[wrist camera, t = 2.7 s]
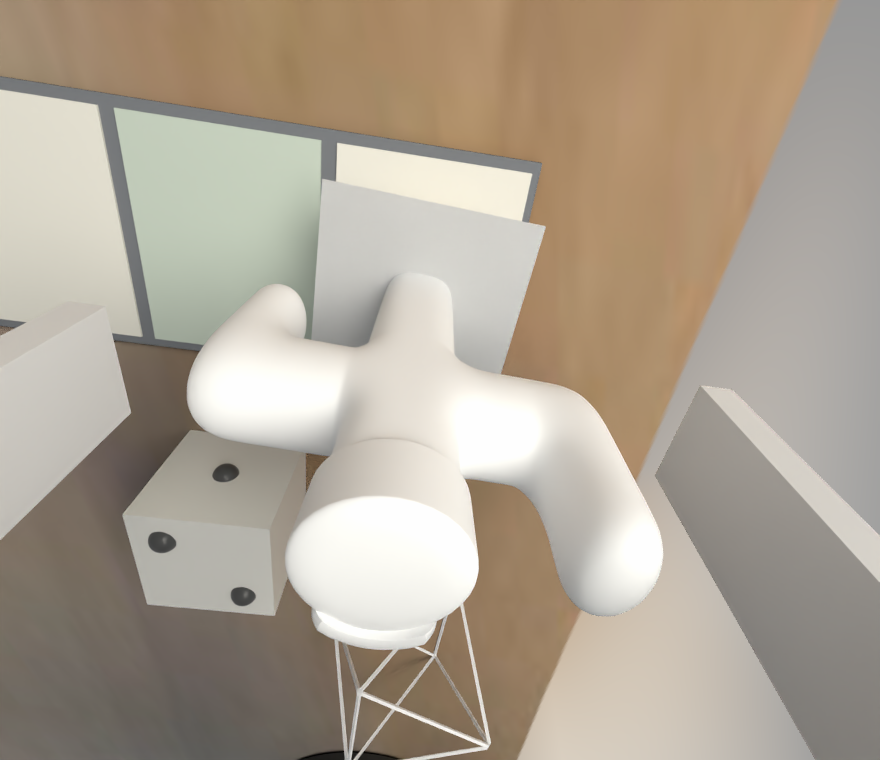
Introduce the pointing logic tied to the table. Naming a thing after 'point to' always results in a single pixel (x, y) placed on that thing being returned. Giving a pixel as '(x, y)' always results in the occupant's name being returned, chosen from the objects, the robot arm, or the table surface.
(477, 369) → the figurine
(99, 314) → the robot arm
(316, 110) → the table surface
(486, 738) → the geometric polyhedron
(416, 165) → the game mat
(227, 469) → the die
